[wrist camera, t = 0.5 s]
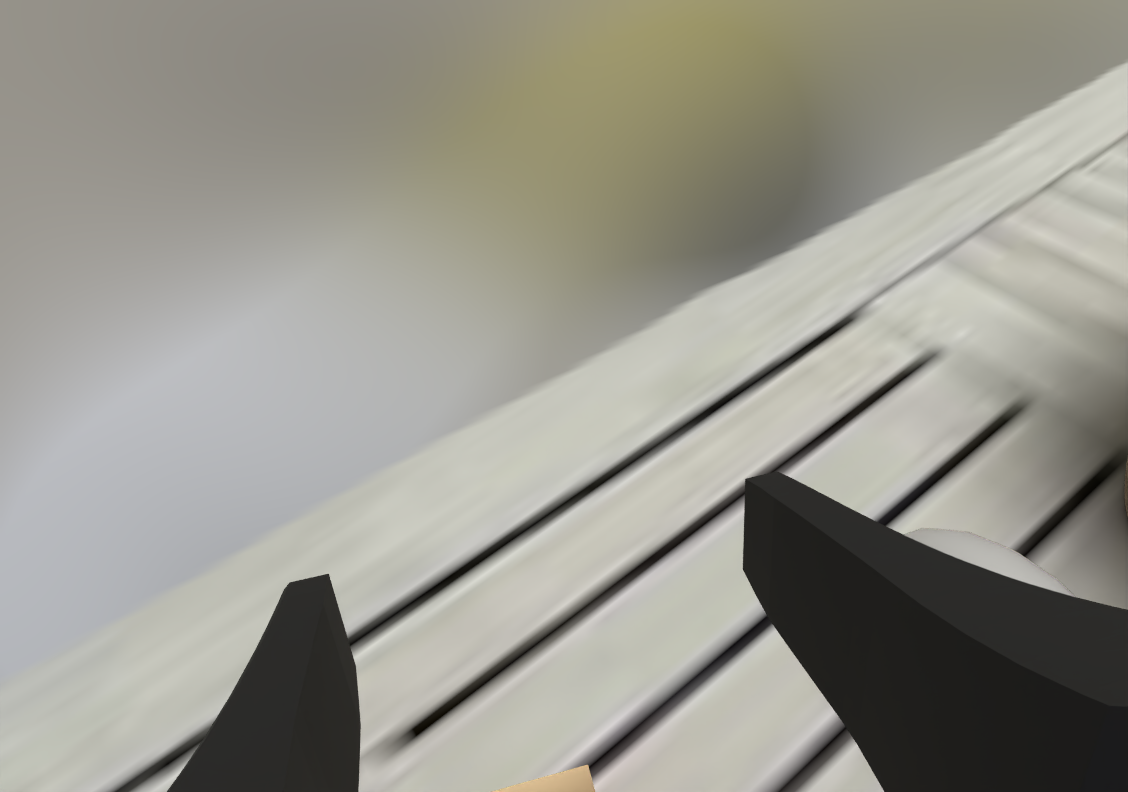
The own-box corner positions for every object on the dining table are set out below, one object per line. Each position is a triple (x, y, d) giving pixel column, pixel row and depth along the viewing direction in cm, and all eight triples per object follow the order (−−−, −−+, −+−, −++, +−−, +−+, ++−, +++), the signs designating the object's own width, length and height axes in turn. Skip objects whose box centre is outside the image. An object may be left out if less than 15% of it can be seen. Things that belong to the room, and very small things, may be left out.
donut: (809, 648, 32) (866, 496, 25) (870, 609, 33) (941, 453, 26) (1021, 889, 26) (1176, 774, 19) (1087, 831, 27) (1257, 702, 20)
